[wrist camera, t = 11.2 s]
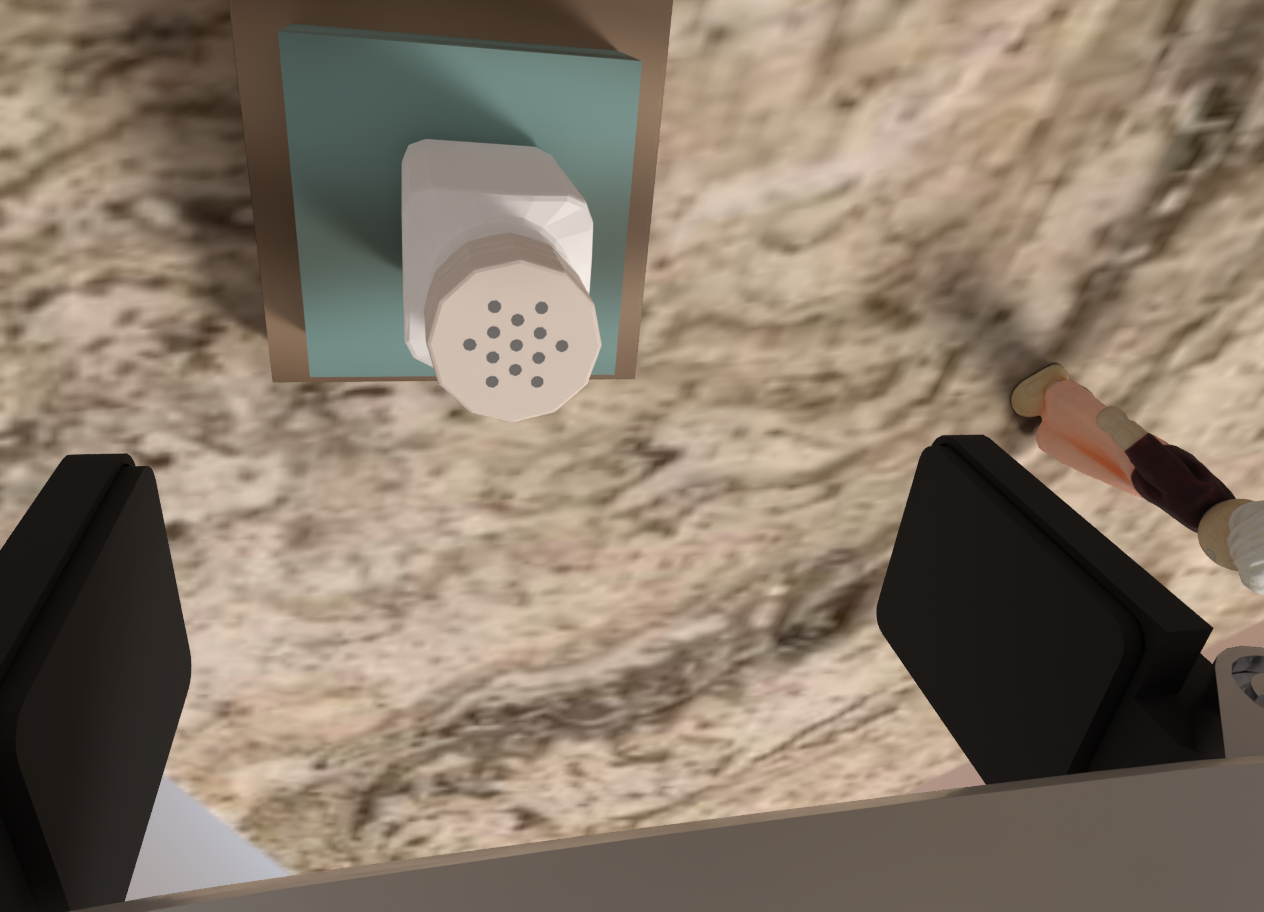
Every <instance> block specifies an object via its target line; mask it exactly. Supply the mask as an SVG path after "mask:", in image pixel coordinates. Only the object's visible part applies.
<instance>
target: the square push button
mask: <svg viewBox="0 0 1264 912" xmlns="http://www.w3.org/2000/svg"><path fill="white" fill-rule="evenodd" d="M672 5H673V0H229V8H230V17H231V26H232V34H233V43H234V51H235V60H236V69H237V77H238V86H239V95H240V103H241V112H242V121H243V129H244V138H245V147H246V155H247V164H248V172H249V181H250V190H251V198H252V207H253V216H254V224H255V233H256V242H257V250H258V259H259V268H260V276H261V285H262V293H263V302H264V311H265V319H266V328H267V337H268V345H269V354H270V363H271V371H272V380H273V382H363V381H437V378H436V375H435V371H434V368H433V367H431V366H429V365H427V364H425V363H423V362H421V361H419V360H417V359H415V358H413V357H412V355H411V353H410V351H409V349H408V347H407V345H406V344H405V342H404V310H403V259H402V160H403V157H404V155H405V152H406V150H407V147H408V145H410V144H413V143H415V142H418V141H421V140H424V139H434V140H448V141H462V142H476V143H490V144H505V145H518V146H532V147H537V148H539V149H541V150H543V151H545V152H546V153H548V154H550V155H551V156H552V157H553V158H554V160H555V161H556V162H557V164H558V165H559V166H560V168H561V169H562V170H563V172H564V173H565V174H566V175H567V177H568V178H569V179H570V181H571V182H572V183H573V185H574V186H575V187H576V189H577V190H578V191H579V193H580V194H581V195H582V197H583V198H584V199H585V201H586V203H587V206H588V209H589V212H590V215H591V218H592V221H593V241H592V264H591V278H590V291H589V295H590V297H591V299H592V301H593V302H594V305H595V311H596V316H597V322H598V327H599V332H600V338H601V343H602V346H601V348H600V351H599V354H598V356H597V359H596V362H595V364H594V367H593V370H592V372H591V375H590V378H589V379H635V372H636V362H637V352H638V342H639V332H640V322H641V313H642V303H643V293H644V283H645V273H646V263H647V253H648V243H649V233H650V223H651V213H652V203H653V194H654V184H655V174H656V164H657V154H658V144H659V134H660V124H661V114H662V104H663V94H664V84H665V75H666V65H667V55H668V45H669V35H670V25H671V15H672Z"/></svg>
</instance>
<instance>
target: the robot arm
mask: <svg viewBox="0 0 1264 912" xmlns="http://www.w3.org/2000/svg"><path fill="white" fill-rule="evenodd" d="M877 622H878V625H879V628H880V630H881V632H882V634H883V635H884V637H885V638H886V640H887V641H888V643H889V644H890V646H891V647H892V649H893V650H894V651H895V653H896V654H897V656H898V657H899V659H900V660H901V662H902V663H903V665H904V666H905V667H906V669H907V670H908V672H909V673H910V675H911V676H912V678H913V679H914V681H915V682H916V683H917V685H918V686H919V688H920V689H921V691H922V692H923V694H924V695H925V697H926V698H927V699H928V701H929V702H930V704H931V705H932V707H933V708H934V710H935V711H936V713H937V714H938V715H939V717H940V718H941V720H942V721H943V723H944V724H945V726H946V727H947V729H948V730H949V732H950V733H951V734H952V736H953V737H954V739H955V740H956V742H957V743H958V745H959V746H960V748H961V749H962V750H963V752H964V753H965V755H966V756H967V758H968V759H969V761H970V762H971V764H972V765H973V766H974V768H975V769H976V771H977V772H978V774H979V775H980V776H981V778H982V779H983V781H984V782H985V784H986V785H981V786H972V787H964V788H956V789H948V790H939V791H931V792H923V793H915V794H906V795H898V796H890V797H882V798H875V799H867V800H859V801H851V802H843V803H835V804H827V805H819V806H811V807H804V808H796V809H788V810H780V811H772V812H764V813H756V814H749V815H741V816H733V817H725V818H718V819H710V820H702V821H694V822H686V823H679V824H671V825H663V826H655V827H648V828H640V829H632V830H624V831H617V832H609V833H602V834H594V835H587V836H579V837H572V838H564V839H557V840H549V841H542V842H534V843H527V844H519V845H512V846H504V847H497V848H489V849H482V850H474V851H467V852H459V853H452V854H444V855H437V856H430V857H422V858H415V859H407V860H400V861H392V862H385V863H377V864H370V865H362V866H355V867H347V868H341V869H334V870H327V871H320V872H313V873H306V874H300V875H293V876H286V877H280V878H272V879H266V880H258V881H252V882H246V883H238V884H231V885H224V886H218V887H212V888H205V889H199V890H192V891H185V892H179V893H172V894H166V895H159V896H153V897H148V898H143V899H137V900H131V901H125V898H126V895H127V892H128V888H129V885H130V881H131V878H132V875H133V872H134V868H135V865H136V862H137V858H138V855H139V852H140V848H141V845H142V841H143V838H144V835H145V832H146V828H147V825H148V822H149V819H150V815H151V812H152V809H153V805H154V802H155V798H156V795H157V792H158V788H159V785H160V782H161V779H162V775H163V772H164V769H165V765H166V762H167V759H168V756H169V752H170V749H171V746H172V742H173V739H174V736H175V732H176V729H177V726H178V722H179V719H180V716H181V712H182V709H183V706H184V702H185V699H186V696H187V692H188V689H189V685H190V679H191V655H190V649H189V644H188V639H187V634H186V629H185V624H184V619H183V614H182V609H181V604H180V599H179V594H178V589H177V584H176V579H175V574H174V569H173V564H172V559H171V554H170V549H169V544H168V539H167V534H166V529H165V524H164V519H163V514H162V509H161V504H160V499H159V494H158V489H157V484H156V479H155V476H154V473H153V471H152V469H151V468H150V467H149V466H135V463H134V461H133V459H132V457H131V456H130V455H128V454H127V453H124V454H78V455H67V456H66V457H65V458H63V459H62V461H61V462H60V464H59V465H58V467H57V468H56V470H55V471H54V472H53V474H52V475H51V477H50V478H49V480H48V481H47V483H46V484H45V486H44V487H43V489H42V490H41V492H40V493H39V494H38V496H37V497H36V499H35V500H34V502H33V503H32V505H31V506H30V508H29V509H28V511H27V512H26V513H25V515H24V516H23V518H22V519H21V521H20V522H19V524H18V525H17V527H16V528H15V530H14V531H13V532H12V534H11V535H10V537H9V538H8V540H7V541H6V543H5V544H4V546H3V547H2V549H1V550H0V912H1264V648H1262V647H1250V646H1238V647H1232V648H1227V649H1225V650H1224V651H1223V652H1221V653H1220V654H1219V655H1218V656H1217V657H1216V659H1215V661H1214V663H1213V664H1211V662H1209V661H1208V660H1207V659H1206V658H1205V657H1204V656H1203V655H1202V654H1201V653H1200V652H1201V650H1202V649H1203V647H1204V645H1205V643H1206V641H1207V639H1208V637H1209V635H1210V634H1211V632H1212V630H1213V627H1212V626H1210V625H1209V624H1208V623H1207V622H1206V621H1204V620H1203V619H1202V618H1201V617H1200V616H1199V615H1197V614H1196V613H1195V612H1194V611H1193V610H1191V609H1190V608H1189V607H1188V606H1187V605H1186V604H1184V603H1183V602H1182V601H1181V600H1180V599H1178V598H1177V597H1176V596H1175V595H1174V594H1173V593H1171V592H1170V591H1169V590H1168V589H1167V588H1166V587H1164V586H1163V585H1162V584H1161V583H1160V582H1158V581H1157V580H1156V579H1155V578H1154V577H1153V576H1151V575H1150V574H1149V573H1148V572H1147V571H1145V570H1144V569H1143V568H1142V567H1141V566H1140V565H1138V564H1137V563H1136V562H1135V561H1134V560H1132V559H1131V558H1130V557H1129V556H1128V555H1127V554H1125V553H1124V552H1123V551H1122V550H1121V549H1120V548H1118V547H1117V546H1116V545H1115V544H1114V543H1112V542H1111V541H1110V540H1109V539H1108V538H1107V537H1105V536H1104V535H1103V534H1102V533H1101V532H1099V531H1098V530H1097V529H1096V528H1095V527H1094V526H1092V525H1091V524H1090V523H1089V522H1088V521H1086V520H1085V519H1084V518H1083V517H1082V516H1081V515H1079V514H1078V513H1077V512H1076V511H1075V510H1073V509H1072V508H1071V507H1070V506H1069V505H1068V504H1066V503H1065V502H1064V501H1063V500H1062V499H1061V498H1059V497H1058V496H1057V495H1056V494H1055V493H1053V492H1052V491H1051V490H1050V489H1049V488H1048V487H1046V486H1045V485H1044V484H1043V483H1042V482H1040V481H1039V480H1038V479H1037V478H1036V477H1035V476H1033V475H1032V474H1031V473H1030V472H1029V471H1027V470H1026V469H1025V468H1024V467H1023V466H1022V465H1020V464H1019V463H1018V462H1017V461H1016V460H1015V459H1013V458H1012V457H1011V456H1010V455H1009V454H1007V453H1006V452H1005V451H1004V450H1003V449H1002V448H1000V447H999V446H998V445H997V444H996V443H994V442H993V441H992V440H991V439H990V438H988V437H986V436H985V435H942V436H940V437H938V438H937V439H936V440H935V441H934V442H933V444H932V446H929V447H927V448H925V449H924V451H923V452H922V454H921V456H920V459H919V462H918V465H917V469H916V472H915V476H914V479H913V483H912V486H911V490H910V493H909V496H908V500H907V503H906V507H905V510H904V514H903V517H902V521H901V524H900V527H899V531H898V534H897V538H896V541H895V545H894V548H893V552H892V555H891V558H890V562H889V565H888V569H887V572H886V576H885V579H884V583H883V586H882V589H881V593H880V596H879V600H878V603H877Z"/></svg>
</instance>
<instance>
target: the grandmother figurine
mask: <svg viewBox="0 0 1264 912" xmlns="http://www.w3.org/2000/svg"><path fill="white" fill-rule="evenodd" d="M1011 404H1012V406H1013V409H1014V410H1015V412H1016V413H1017V414H1019V415H1021V416H1025V417H1034V416H1041V418H1042V422H1041V424H1040V426H1039V428H1038V431H1037V434H1036V440H1037V443H1038V446H1039V448H1040V449H1041V450H1042V451H1044V452H1045V453H1047V454H1049V455H1050V456H1052V457H1054V458H1055V459H1057V460H1059V461H1060V462H1062V463H1064V464H1066V465H1068V466H1070V467H1072V468H1073V469H1075V470H1077V471H1079V472H1081V473H1083V474H1086V475H1088V476H1091V477H1093V478H1095V479H1098V480H1100V481H1103V482H1105V483H1107V484H1109V485H1112V486H1114V487H1116V488H1118V489H1121V490H1123V491H1126V492H1128V493H1130V494H1133V495H1135V496H1138V497H1142V498H1144V499H1146V500H1147V501H1148V502H1151V503H1153V504H1154V505H1156V506H1158V507H1159V508H1161V509H1162V510H1164V511H1165V512H1166V513H1168V514H1169V515H1170V516H1172V517H1173V518H1174V519H1176V520H1177V521H1178V522H1180V523H1181V524H1182V525H1184V526H1185V527H1187V528H1188V529H1190V530H1192V531H1194V532H1196V533H1198V539H1199V543H1200V546H1201V548H1202V550H1203V551H1204V552H1205V554H1206V555H1207V556H1208V557H1209V558H1210V559H1211V560H1212V561H1213V562H1215V563H1217V564H1218V565H1220V566H1222V567H1225V568H1227V569H1230V570H1235V571H1238V572H1239V576H1240V579H1241V582H1242V583H1243V585H1245V586H1246V587H1247V588H1248V589H1250V590H1251V591H1254V592H1256V593H1258V594H1264V501H1252V500H1247V499H1236V498H1235V496H1234V495H1233V494H1232V492H1231V491H1230V490H1229V489H1228V488H1227V487H1226V486H1225V485H1224V484H1223V483H1222V482H1221V481H1220V480H1219V479H1218V478H1217V477H1215V476H1214V475H1213V474H1212V473H1211V472H1210V471H1209V470H1208V469H1207V468H1206V467H1205V466H1204V465H1203V464H1202V463H1201V462H1199V461H1198V460H1197V459H1196V458H1195V457H1194V456H1193V455H1192V454H1190V453H1188V452H1187V451H1185V450H1183V449H1181V448H1179V447H1177V446H1173V445H1170V444H1168V443H1167V442H1165V441H1163V440H1162V439H1160V438H1158V437H1156V436H1154V435H1152V434H1150V433H1148V432H1147V431H1145V430H1144V429H1143V428H1142V427H1141V426H1140V425H1138V424H1137V423H1136V422H1134V421H1131V420H1129V419H1128V418H1127V416H1126V414H1125V413H1124V411H1123V410H1121V409H1120V408H1118V407H1115V406H1109V407H1107V406H1105V405H1104V404H1103V403H1101V402H1100V401H1099V400H1098V399H1097V398H1095V397H1094V395H1093V394H1092V392H1090V391H1089V390H1088V389H1086V388H1083V387H1082V386H1080V385H1079V384H1077V383H1076V382H1074V381H1071V380H1069V375H1068V373H1067V371H1066V370H1065V369H1064V367H1062V366H1061V365H1056V364H1055V365H1051V366H1049V367H1046V368H1045V369H1043V370H1041V371H1039V372H1038V373H1036V374H1034V375H1032V376H1030V377H1029V378H1027V379H1025V380H1024V381H1022V382H1021V383H1020V384H1019V385H1018V386H1017V387H1016V389H1015V390H1014V391H1013V394H1012V398H1011Z"/></svg>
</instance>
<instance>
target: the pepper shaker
mask: <svg viewBox="0 0 1264 912" xmlns="http://www.w3.org/2000/svg"><path fill="white" fill-rule="evenodd" d="M592 241H593V221H592V218H591V215H590V212H589V209H588V206H587V203H586V201H585V199H584V198H583V197H582V195H581V194H580V193H579V191H578V190H577V189H576V187H575V186H574V185H573V183H572V182H571V181H570V179H569V178H568V177H567V175H566V174H565V173H564V172H563V170H562V169H561V168H560V166H559V165H558V164H557V162H556V161H555V160H554V158H553V157H552V156H551V155H550V154H548V153H546V152H545V151H543V150H541V149H539V148H537V147H532V146H518V145H505V144H490V143H476V142H462V141H448V140H434V139H424V140H421V141H418V142H415V143H413V144H410V145H408V147H407V150H406V152H405V155H404V157H403V160H402V259H403V310H404V342H405V344H406V345H407V347H408V349H409V351H410V353H411V355H412V357H413V358H415V359H417V360H419V361H421V362H423V363H425V364H427V365H429V366H431V367H433V368H434V371H435V375H436V378H437V381H438V384H439V385H440V386H442V387H443V388H444V389H445V390H446V391H447V392H448V393H449V394H450V395H452V396H453V397H454V398H455V399H456V400H457V401H458V402H459V403H460V404H462V405H463V406H464V407H465V408H466V409H467V410H468V411H469V412H472V413H476V414H480V415H484V416H489V417H493V418H497V419H502V420H506V421H510V422H515V421H519V420H524V419H528V418H532V417H536V416H540V415H544V414H548V413H552V412H555V411H556V410H557V409H559V408H560V407H561V406H562V405H563V404H564V403H566V402H567V401H568V400H569V399H570V398H571V397H573V396H574V395H575V394H576V393H577V392H578V391H580V390H581V389H582V388H583V387H584V386H585V385H587V383H588V380H589V378H590V375H591V372H592V370H593V367H594V364H595V362H596V359H597V356H598V354H599V351H600V348H601V346H602V343H601V338H600V332H599V327H598V322H597V316H596V311H595V305H594V302H593V301H592V299H591V297H590V295H589V291H590V278H591V264H592Z"/></svg>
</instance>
